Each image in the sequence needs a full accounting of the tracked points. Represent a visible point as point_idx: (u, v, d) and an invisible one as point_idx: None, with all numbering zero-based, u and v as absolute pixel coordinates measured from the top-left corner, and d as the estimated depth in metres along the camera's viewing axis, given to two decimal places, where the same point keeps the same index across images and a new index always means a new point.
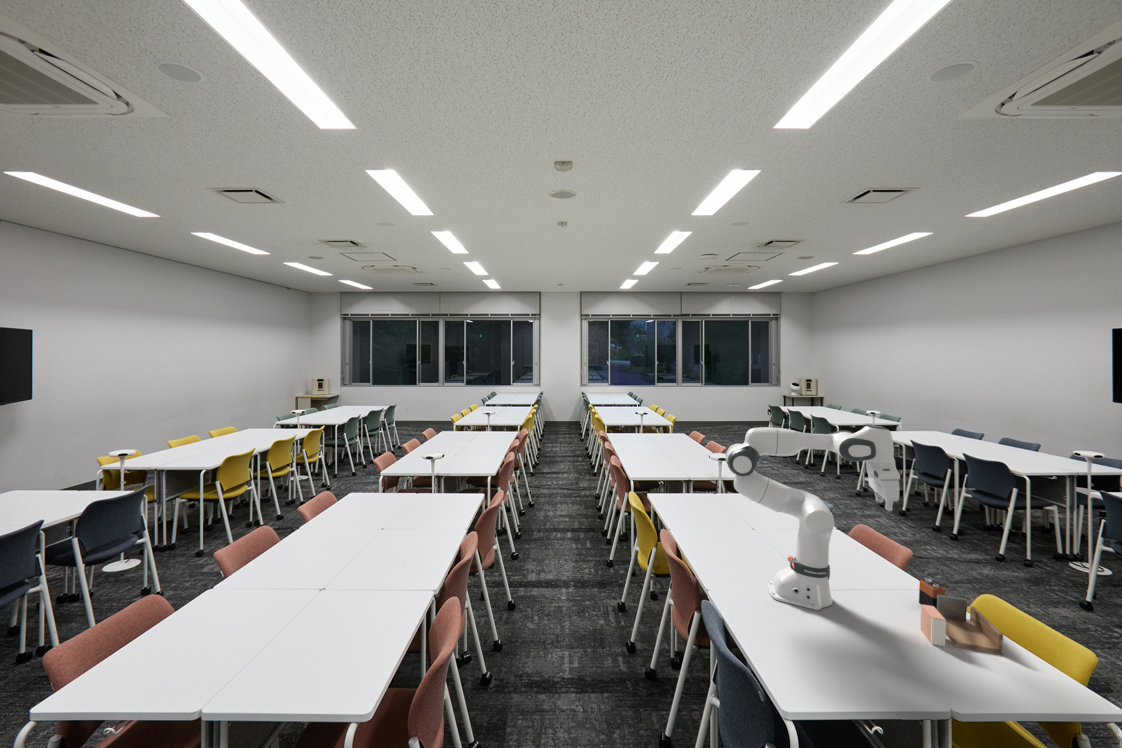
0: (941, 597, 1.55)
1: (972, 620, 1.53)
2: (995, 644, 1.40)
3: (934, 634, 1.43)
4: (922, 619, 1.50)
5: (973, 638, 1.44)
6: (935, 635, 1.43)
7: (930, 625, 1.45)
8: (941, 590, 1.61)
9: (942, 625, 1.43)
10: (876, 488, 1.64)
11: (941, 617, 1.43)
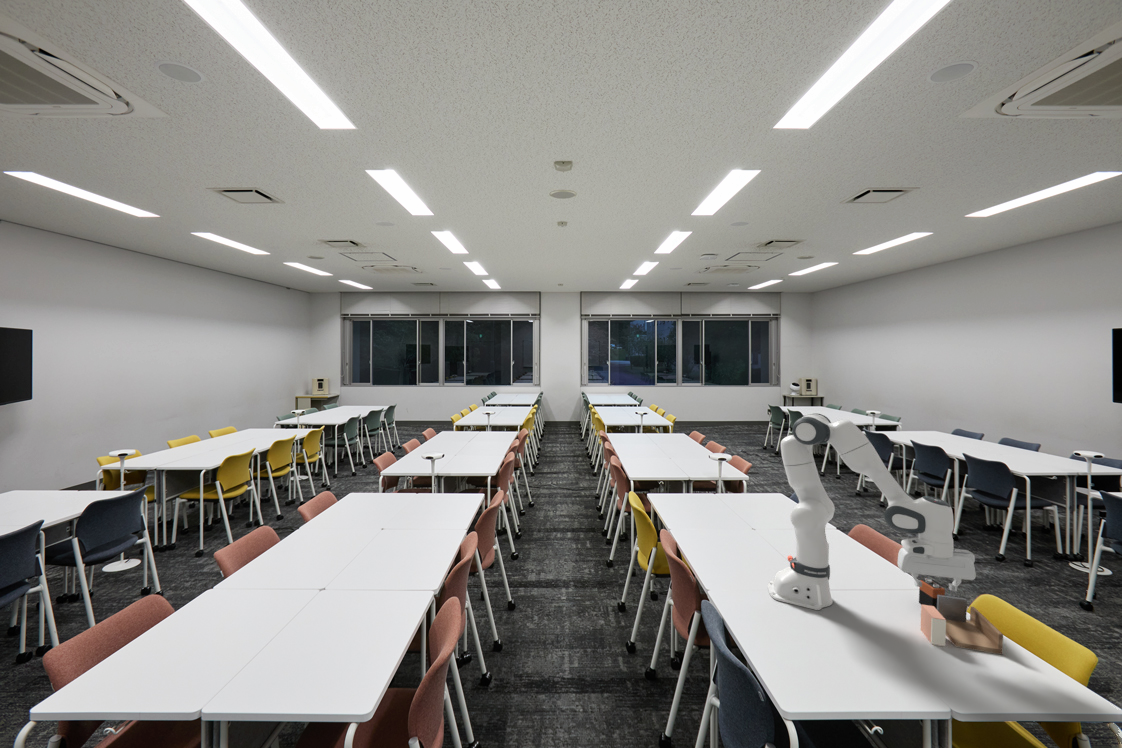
0: (941, 597, 1.55)
1: (972, 620, 1.53)
2: (995, 644, 1.40)
3: (934, 634, 1.43)
4: (922, 619, 1.50)
5: (973, 638, 1.44)
6: (935, 635, 1.43)
7: (930, 625, 1.45)
8: (941, 590, 1.61)
9: (942, 625, 1.43)
10: None
11: (941, 617, 1.43)
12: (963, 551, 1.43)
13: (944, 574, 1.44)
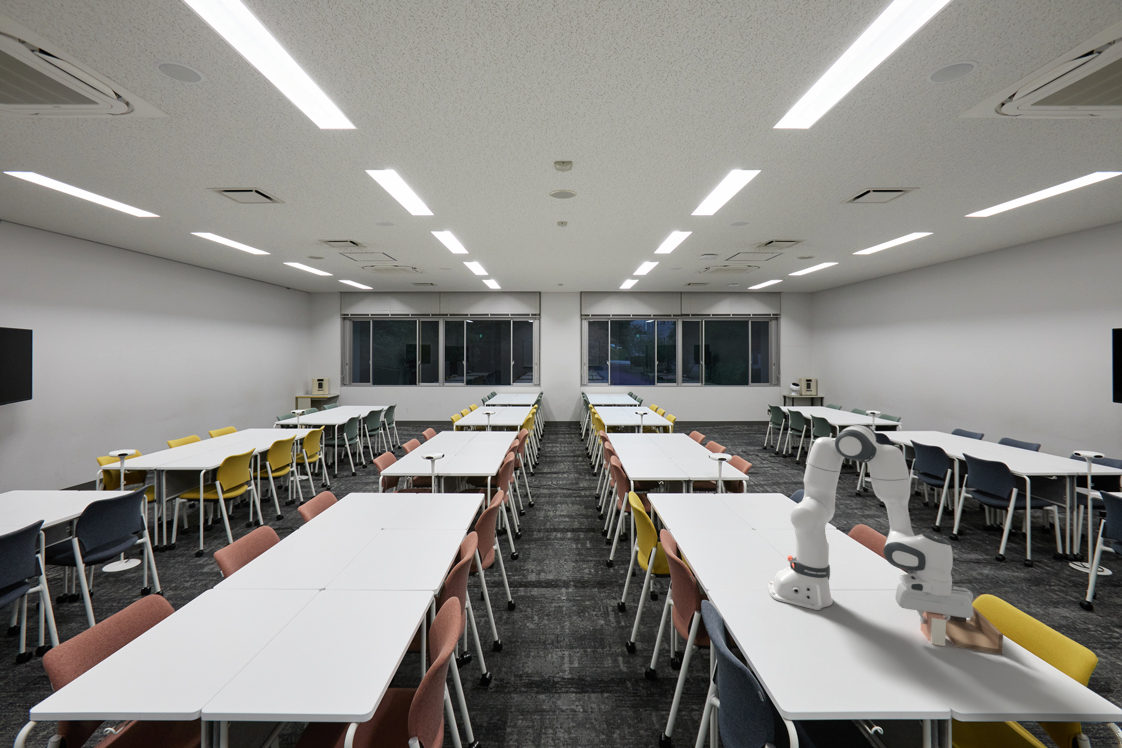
0: None
1: (972, 620, 1.53)
2: (995, 644, 1.40)
3: (934, 634, 1.43)
4: None
5: (973, 638, 1.44)
6: (935, 635, 1.43)
7: (930, 625, 1.45)
8: None
9: (942, 625, 1.43)
10: None
11: (941, 617, 1.43)
12: (961, 589, 1.44)
13: (942, 611, 1.44)
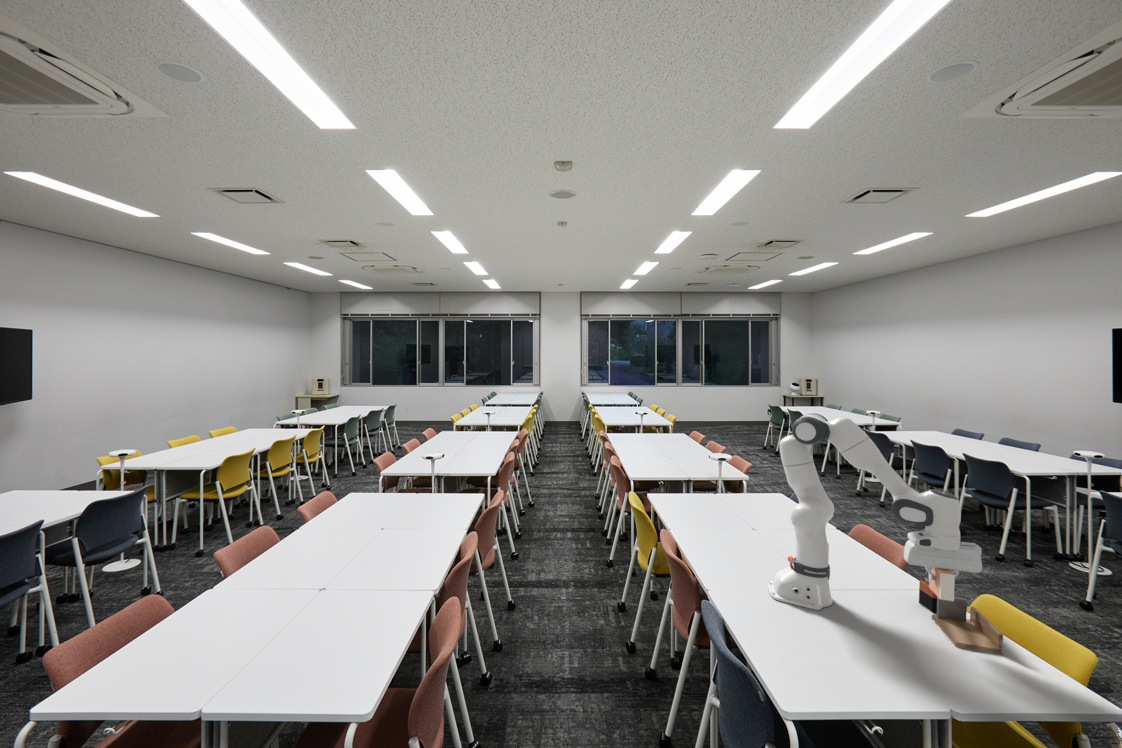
0: None
1: (972, 620, 1.53)
2: (995, 644, 1.40)
3: (943, 589, 1.43)
4: None
5: (973, 638, 1.44)
6: (944, 590, 1.43)
7: (939, 580, 1.44)
8: None
9: (951, 580, 1.42)
10: None
11: (950, 572, 1.43)
12: (969, 544, 1.43)
13: (951, 566, 1.44)
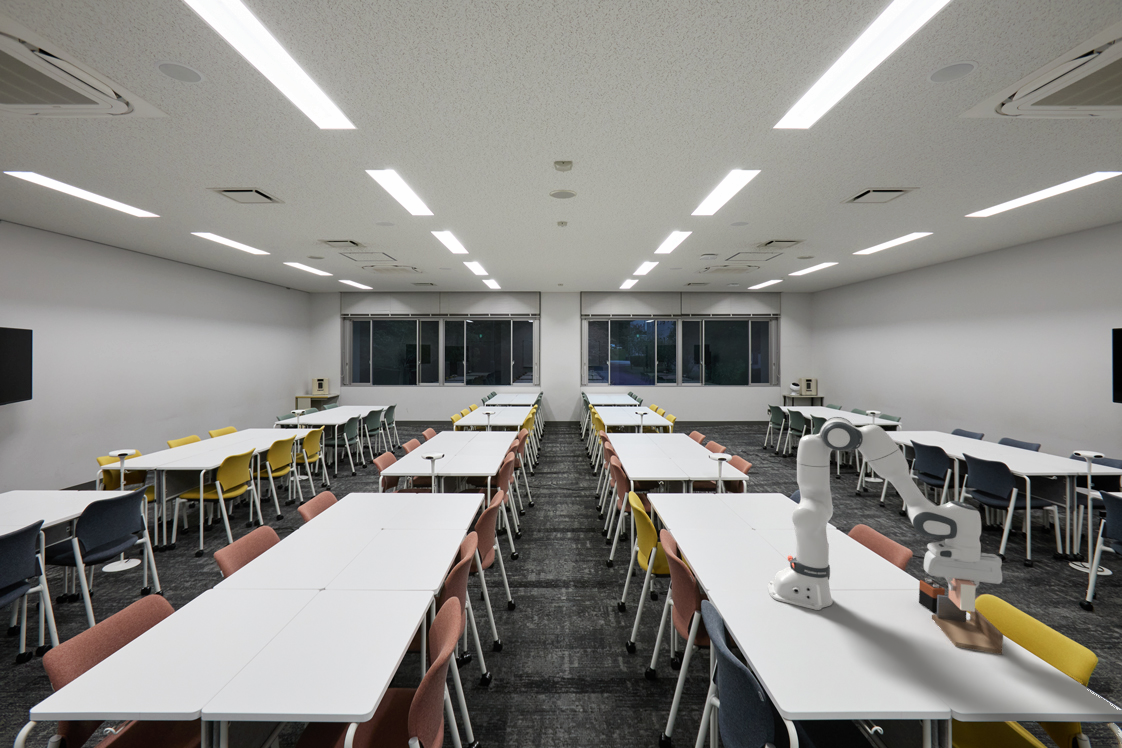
0: (941, 597, 1.55)
1: (972, 620, 1.53)
2: (995, 644, 1.40)
3: (963, 600, 1.45)
4: None
5: (973, 638, 1.44)
6: (965, 601, 1.44)
7: (959, 591, 1.46)
8: (941, 590, 1.61)
9: (971, 591, 1.44)
10: None
11: (970, 583, 1.45)
12: (990, 555, 1.45)
13: (971, 577, 1.45)
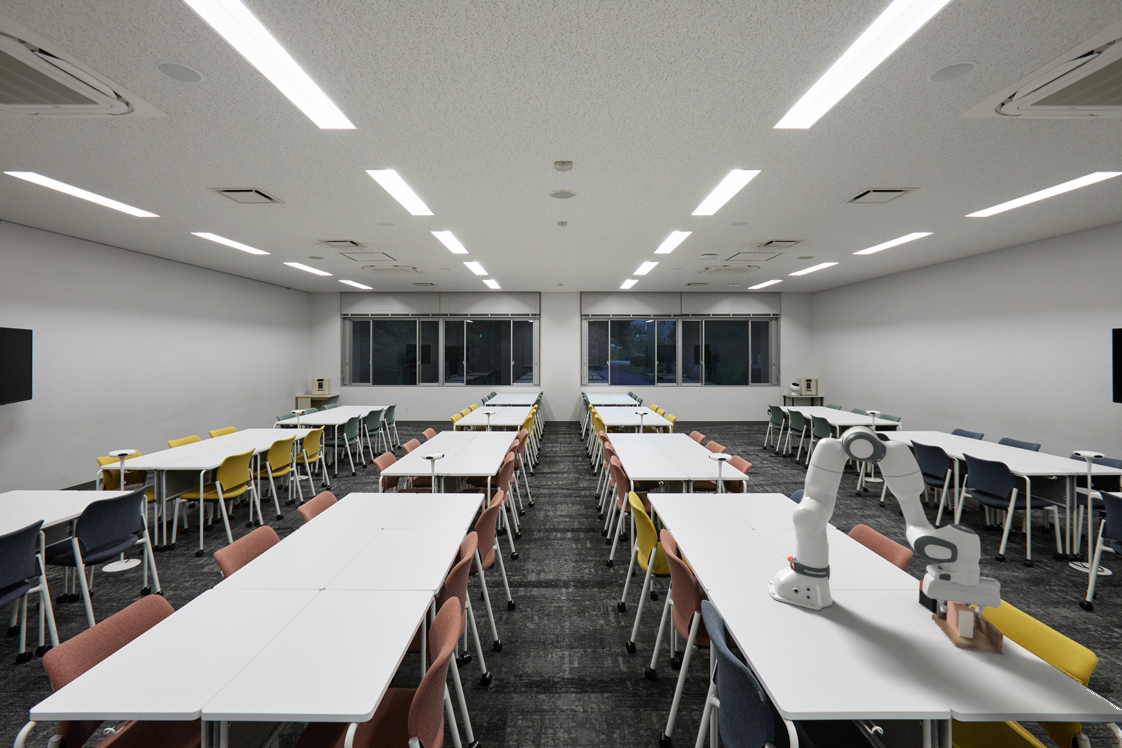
0: None
1: None
2: (995, 644, 1.40)
3: (961, 626, 1.45)
4: (949, 612, 1.52)
5: (973, 638, 1.44)
6: (963, 627, 1.45)
7: (957, 617, 1.46)
8: None
9: (970, 617, 1.44)
10: None
11: (969, 609, 1.45)
12: (988, 579, 1.45)
13: (970, 600, 1.46)
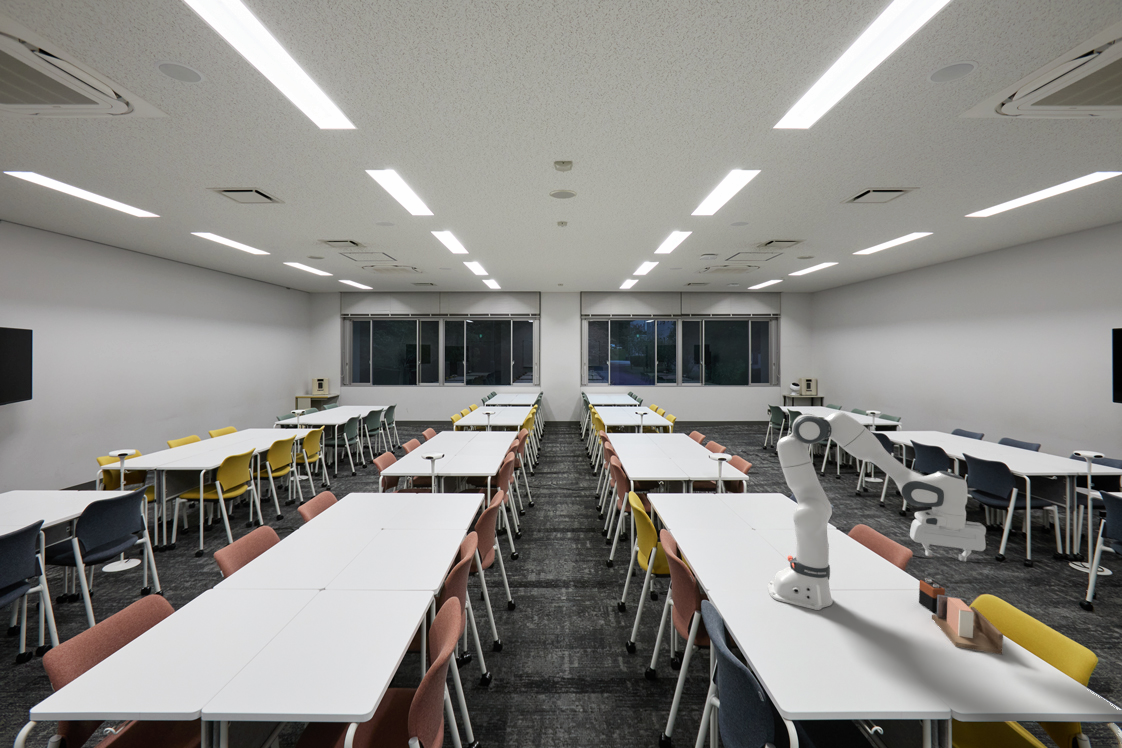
0: (941, 597, 1.55)
1: None
2: (995, 644, 1.40)
3: (961, 626, 1.45)
4: (949, 612, 1.52)
5: (973, 638, 1.44)
6: (963, 627, 1.45)
7: (957, 617, 1.46)
8: (941, 590, 1.61)
9: (970, 617, 1.44)
10: None
11: (969, 609, 1.45)
12: (974, 523, 1.49)
13: (955, 544, 1.50)
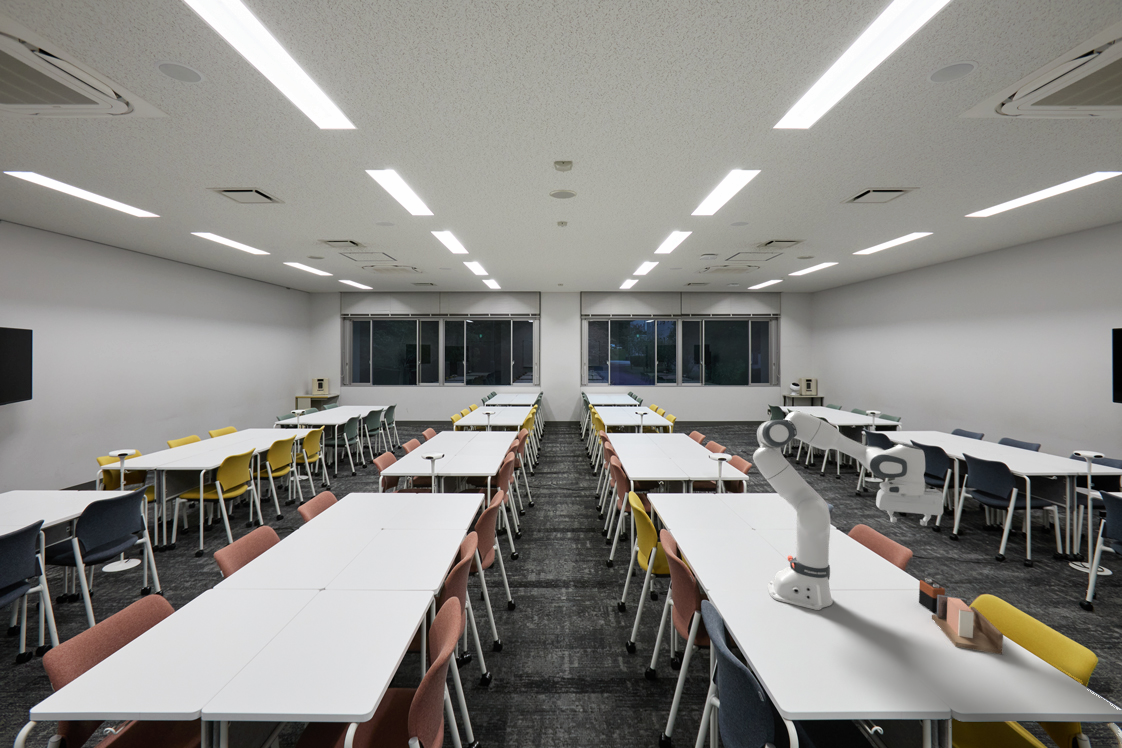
0: (941, 597, 1.55)
1: None
2: (995, 644, 1.40)
3: (961, 626, 1.45)
4: (949, 612, 1.52)
5: (973, 638, 1.44)
6: (963, 627, 1.45)
7: (957, 617, 1.46)
8: (941, 590, 1.61)
9: (970, 617, 1.44)
10: None
11: (969, 609, 1.45)
12: (933, 490, 1.62)
13: (916, 510, 1.63)
